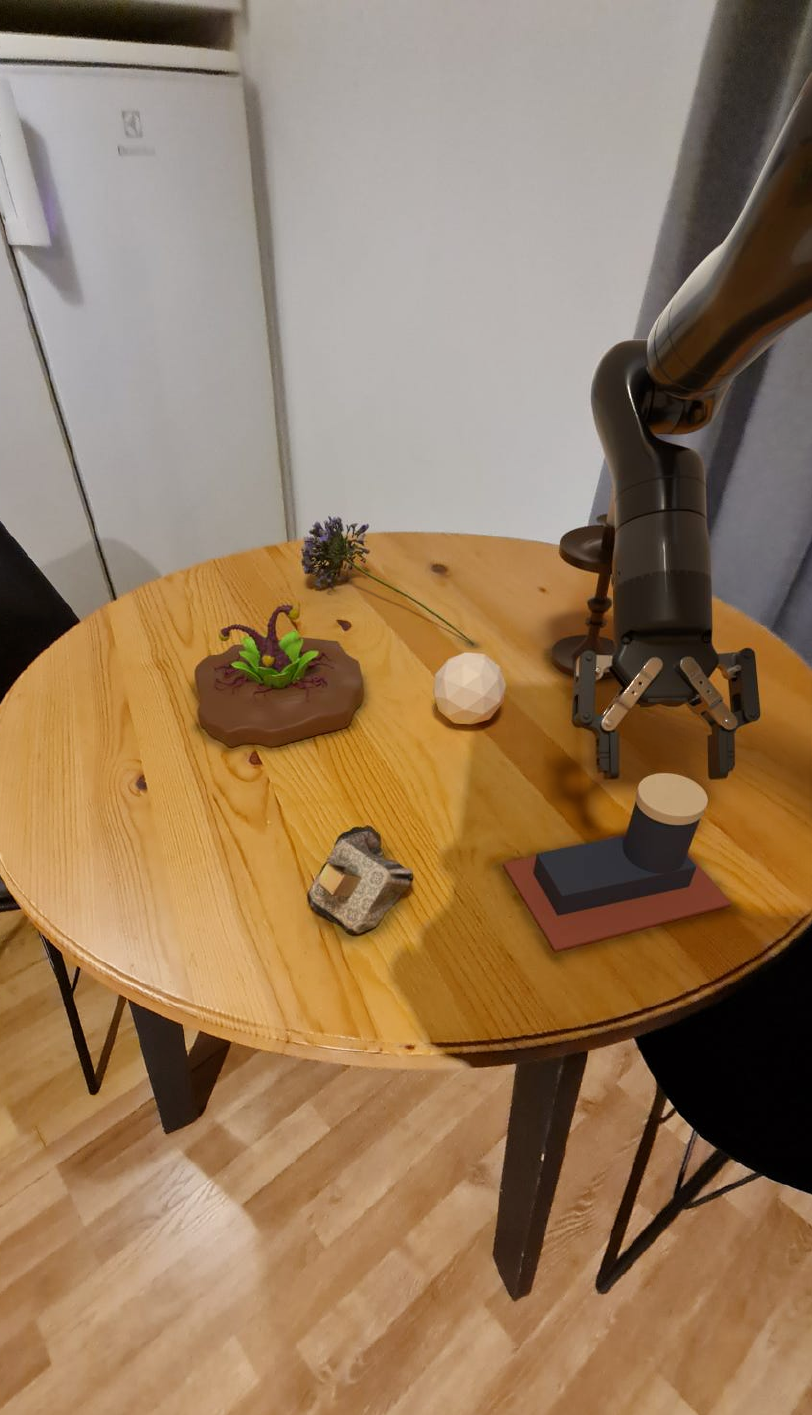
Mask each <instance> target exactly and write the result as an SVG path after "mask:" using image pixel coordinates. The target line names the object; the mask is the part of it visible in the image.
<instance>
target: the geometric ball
mask: <svg viewBox="0 0 812 1415" xmlns="http://www.w3.org/2000/svg"><path fill="white" fill-rule="evenodd" d="M506 689H507V685H506V681H505V679H504V675H503V672H502V670H501V667H500V665H498V664H497V663H496V662H495V661H493V660H492V659H491V658H490V657H488V656H487V655H486V654H484V653H476V652H466V651H465V652H463V653H460V654H458V655H455V656H452V657H450V658H447V660H446V661H445V663H444V664H443V665H442V666H441V667H440V668H439V669H438V670H437V672H436V673H435V674H434V679H433V688H432V694H433V697H434V701H435V703H436V706H437V709H438V711H439V712H440V713H441V714H442V715H443V716H444V717H446V718H447V719H448V720H450V721H451V722H452V723H453V724H459V725H461V724H462V725H474V724H475V725H476V724H479V723H482V722H484V721H489V720H491V718H492V717H493V716H494V714H495V713H496V712H497V710H498V709H500V707H501V706H502V704H503V703H504V698H505V693H506Z"/></svg>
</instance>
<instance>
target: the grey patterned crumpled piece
mask: <svg viewBox="0 0 812 1415" xmlns="http://www.w3.org/2000/svg"><path fill="white" fill-rule="evenodd" d="M381 837H382V836H381V834H380V833H379V832H378V831H377V830H376V829H375V828H374V827H373V826H372V825H368V824H367V825H365V826H354V827H352V828H351V829H349V830H348V831H344V832H342V833H341V834H339V835H338V836H337V839H336V840H335V843H334V845H333V849H332V851H331V852H330V854H329V856H328V857H327V859H326V861H325V862H324V864H323V865H322V867H321V869H320V871H319V872H318V874H317V875H316V877H315V879H314V881H313V882H312V884H311V886H310V887H309V890H308V891H307V894H306V899H307V903H308V905H309V906H310V907H312V909H313V910H314V911H315V912H316V913H318V914H319V915H321V916H322V917H326V918H327V919H328V920H329V921H331V922H332V923H334V924H335V925H337V926H340V927H341V929H342V930H343V931H345V932H346V933H348V934H349V935H358V934H361V933H362V932H365V931H368V930H372V929H374V928H376V927H378V926H379V925H380V923H381V921H382V920H383V918H384V916H385V914H386V913H387V912H388V911H389V910H390V909H391V908H392V907H393V906H394V905H395V903H396V902H397V901H398V899H399V898H400V896H401V894H403V893H404V892H405V891H407V890H408V889H409V887H410V886H411V885H412V883H413V882H414V877H415V876H414V872H413V870H412V869H410V868H408V867H404V866H403V865H402V864H401V863H400V862H398V861H396V860H395V859H390V858H387V857H384V856H382V855H384V851H383V849H382V848H381V843H382V838H381Z"/></svg>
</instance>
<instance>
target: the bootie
mask: <svg viewBox="0 0 812 1415" xmlns="http://www.w3.org/2000/svg"><path fill="white" fill-rule="evenodd" d="M708 799H709V798H708V795H707V793H706V791H705V789H704V788H703V787H702V786H701V785H700V784H699V783H697V782H696V781H694V780H692V779H691V778H689V777H687V776H684V775H680V774H676V773H668V772H660V773H658V772H657V773H653V774H651V775H648V776H645V777H644V778H643V779H641V781H640V782H639V783H638V786H637V789H636V793H635V801H634V805H633V808H632V812H631V816H630V819H629V823H628V825H627V830H626V833H625V834H626V835H624V834H623V835H624V836H619V835H618V836H619V837H615V836H613V837H614V838H611V837H609V838H610V839H607V838H604V839H605V840H603V839H599V840H600V841H599V840H595V842H594V841H590V842H586V843H581V844H576V845H572V846H567V847H561V848H557V849H551V850H548V851H542V852H537V853H536V855H535V856H536V861H535V867H534V872H533V874H534V875H535V877H536V879H537V881H538V882H539V884H540V886H541V888H542V889H543V891H544V893H545V895H546V896H547V898H548V900H549V901H550V903H551V905H552V907H553V908H554V910H555V912H556V914H557V915H558V916H559V915H563V914H568V913H572V912H577V911H581V910H586V909H591V908H595V907H600V906H604V905H609V904H613V903H618V902H622V901H627V900H631V899H636V898H640V897H645V896H649V895H654V894H658V893H663V892H667V891H672V890H676V889H681V888H685V887H689V886H690V883H691V880H692V878H693V875H694V873H695V870H696V867H697V866H696V865H695V864H694V863H693V861H692V860H691V859H690V858H689V856H688V855H687V853H689V850H690V848H691V845H692V842H693V839H694V837H695V835H696V833H697V829H698V826H699V824H700V821H701V818H702V817H703V816H704V814H705V811H706V808H707V806H708V802H709V800H708Z"/></svg>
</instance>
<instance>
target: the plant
mask: <svg viewBox="0 0 812 1415" xmlns="http://www.w3.org/2000/svg"><path fill="white" fill-rule="evenodd" d="M280 613H282V614H283V613H284V615H285V616H286V618H288V619H289V620H292V621H295V620H297V619H299V617H300V613H301V612H300V610H299V608H298V607H296V606H295V605H292V604H290V605H289V604H286V605H285V604H283V605H280V606H277V607H276V609H275V610H274V611H273V612H272V613H271V616H270V618H269V620H268V621H269V622H268V623H267V624H266V627H267V634H266V633H265V634H260V633H259V632H258V631H256V629H254V628H253V629H252V627H250V626H247V625H243V624H237V623H235V624H231V625H230V626H227V627H224V628H222V629H220V631H219V632H218V638H219V639H220V641H221V642H227V641H228V640H230V638H231V631H232V630H233V631H234V630H236V631H238V630H239V631H241V632H243V633H246V634H247V635H248V637H247V636H243V637H242V639H241V643H242V644H233V645H232V646H230V647H229V648H228V649H226V650H225V651H223V652H221V653H219V654H210V655H207V656H206V657H205V658H203V659H202V660H201V661H200V662H199V663H198V664H197V666H195V669H194V679H195V684H196V688H197V692H198V694H199V695H198V696H199V705H198V707H197V717H198V721H199V725H200V727H201V728H202V729H204V730H205V731H206V732H207V734H209V736H210V737H212V738H213V739H215V740H218V741H220V742H222V743H223V744H224V745H226V746H227V747H228V748H235V747H238V746H240V745H246V744H257V745H262V746H265V747H269V748H274V747H279V746H283V745H286V744H290V743H292V742H297V741H299V740H300V741H301V740H304V739H307V738H311V737H314V736H317V735H321V734H327V733H331V732H334V731H338V730H342V729H345V728H348V727H349V726H350V725H351V722H352V719H353V717H354V714H355V712H356V710H358V708H359V707H360V706H361V704H362V703H363V699H364V680H363V674H362V669H361V665H360V662H359V660H358V659H356V658H354V657H352V656H350V655H349V654H348V653H347V652H346V651H345V649H344V648H343V647H342V645H341V644H340V642H339V641H338V640H328V639H321V638H310V637H302V636H300V635H299V632H298V631H297V630H296V629H294V630H291V631H289V632H287V633H286V634H285V635H284V636H283V637H282V638H281V639H279V637H278V636H277V628H276V627H277V620H278V617H279V614H280Z"/></svg>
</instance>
